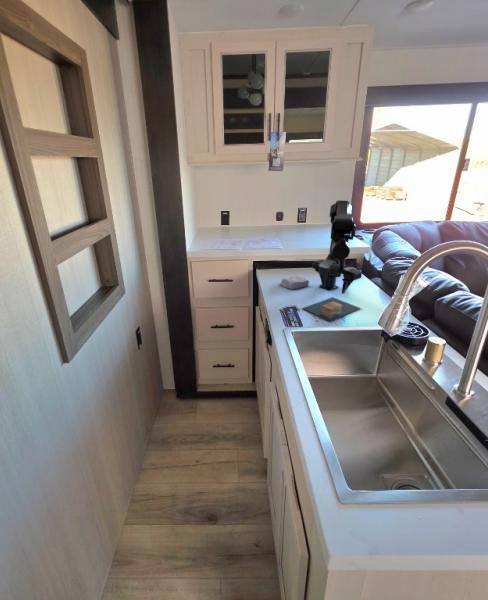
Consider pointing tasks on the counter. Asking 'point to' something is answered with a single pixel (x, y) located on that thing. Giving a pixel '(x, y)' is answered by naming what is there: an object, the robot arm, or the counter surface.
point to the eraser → (331, 309)
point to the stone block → (295, 282)
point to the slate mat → (317, 307)
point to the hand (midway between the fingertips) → (333, 290)
